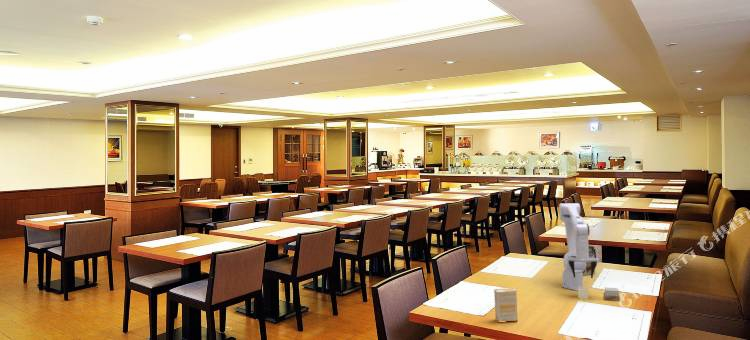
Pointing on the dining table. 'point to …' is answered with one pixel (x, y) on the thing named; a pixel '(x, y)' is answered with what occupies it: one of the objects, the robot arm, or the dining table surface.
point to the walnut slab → (611, 298)
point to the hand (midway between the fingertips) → (583, 277)
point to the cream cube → (583, 292)
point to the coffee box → (588, 265)
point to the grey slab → (612, 292)
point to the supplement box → (505, 304)
